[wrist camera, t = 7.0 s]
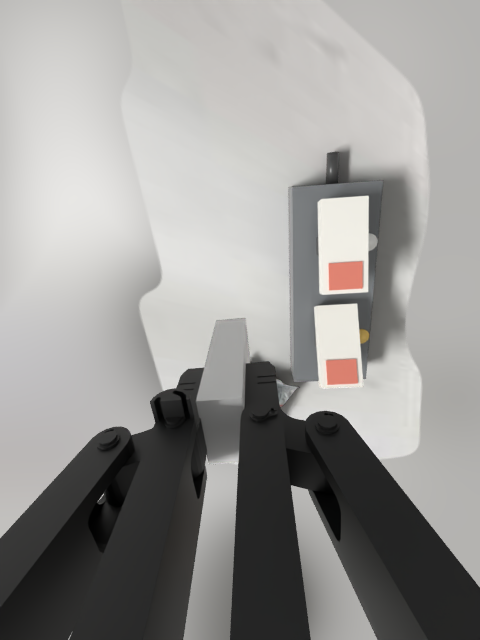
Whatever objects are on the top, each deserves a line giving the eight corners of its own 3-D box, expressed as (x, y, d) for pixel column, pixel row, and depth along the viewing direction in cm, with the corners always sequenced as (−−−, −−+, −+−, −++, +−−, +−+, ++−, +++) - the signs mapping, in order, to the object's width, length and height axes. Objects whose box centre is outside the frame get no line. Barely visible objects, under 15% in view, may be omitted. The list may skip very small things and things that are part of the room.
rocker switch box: (288, 157, 34) (294, 151, 29) (373, 150, 34) (393, 143, 29) (290, 368, 44) (295, 389, 39) (357, 364, 43) (370, 386, 38)
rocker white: (317, 202, 31) (321, 198, 30) (362, 199, 31) (369, 195, 29) (319, 293, 33) (323, 294, 31) (362, 290, 33) (368, 292, 31)
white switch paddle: (313, 307, 36) (316, 305, 35) (352, 305, 36) (357, 303, 34) (319, 386, 36) (322, 388, 34) (358, 384, 36) (364, 387, 34)
